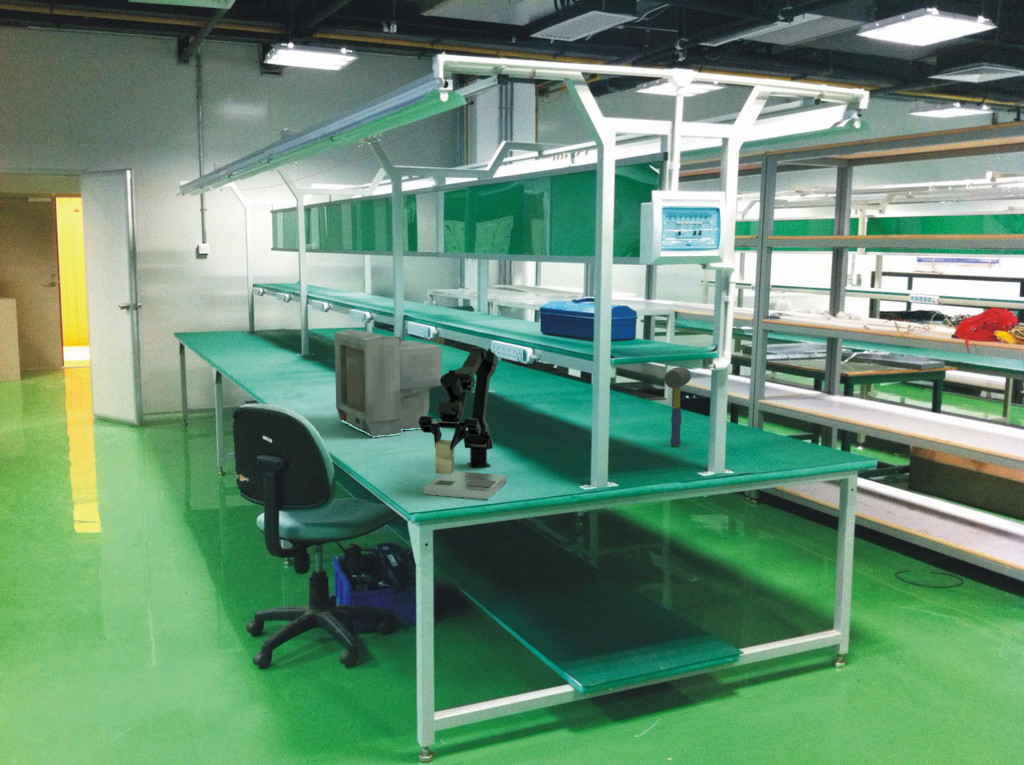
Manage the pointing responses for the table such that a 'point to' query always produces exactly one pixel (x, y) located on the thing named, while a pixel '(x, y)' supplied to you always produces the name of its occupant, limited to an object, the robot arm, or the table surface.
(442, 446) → the maple post
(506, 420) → the table surface
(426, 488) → the pocket plate
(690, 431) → the table surface
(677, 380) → the rubber mallet
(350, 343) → the crt television
